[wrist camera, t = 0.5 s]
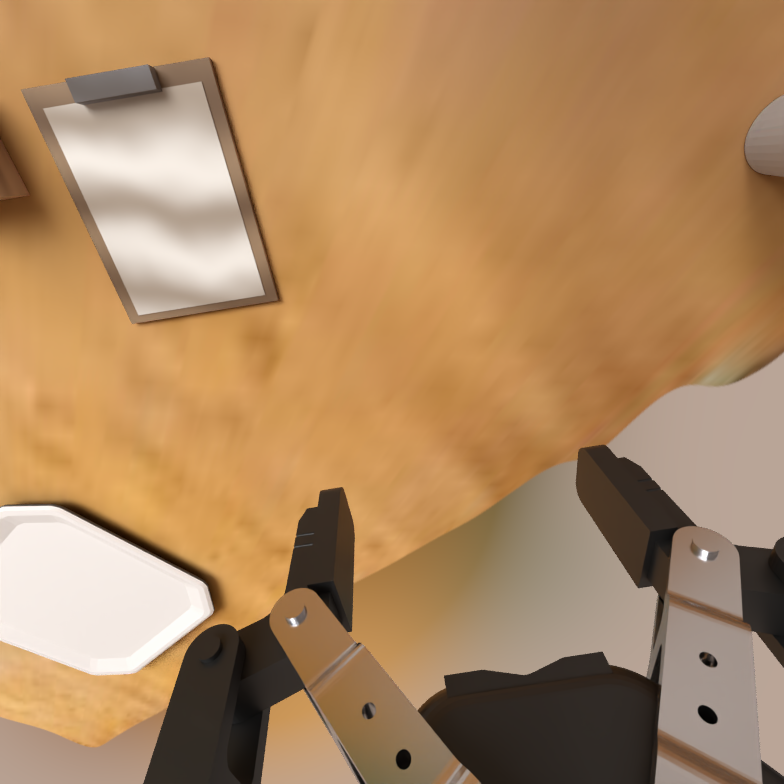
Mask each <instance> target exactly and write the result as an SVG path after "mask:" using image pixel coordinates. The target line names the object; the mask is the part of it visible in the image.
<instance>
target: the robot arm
mask: <svg viewBox="0 0 784 784" xmlns="http://www.w3.org/2000/svg"><path fill="white" fill-rule="evenodd" d="M576 488H577V493H578V496H579V498H580V500H581V502H582V503H583V505H584V507H585V508H586V510H587V511H588V513H589V514H590V516H591V517H592V518H593V520H594V522H595V523H596V525H597V526H598V528H599V529H600V531H601V532H602V534H603V536H604V537H605V538H606V540H607V541H608V543H609V545H610V546H611V547H612V549H613V551H614V552H615V554H616V555H617V557H618V558H619V560H620V561H621V563H622V564H623V566H624V567H625V569H626V570H627V572H628V573H629V575H630V576H631V578H632V580H633V581H634V583H635V584H636V586H637V587H638V588H643V587H649V586H653V587H654V588H655V590H656V591H657V593H658V598H657V603H656V612H655V621H654V629H653V637H652V646H651V654H650V661H649V666H648V672H647V677H644V676H642V675H640V674H638V673H636V672H633V671H630V670H628V669H625V668H621V667H617V666H613V665H609V664H608V662H607V660H606V658H605V656H604V654H603V652H597V653H590V654H584V655H577V656H570V657H564V658H561V659H559V660H557V661H555V662H553V663H551V664H549V665H547V666H545V667H543V668H541V669H539V670H537V671H535V672H533V673H531V674H528V675H518V674H510V673H503V672H495V671H487V670H478V671H472V672H465V673H459V674H452V675H446V676H444V678H445V685H446V688H445V689H443V690H441V691H439V692H438V693H436V694H435V695H433V696H432V697H430V698H429V699H428V700H427V701H426V702H425V703H424V704H423V705H422V706H421V707H420V708H419V709H418V711H417V710H416V708H415V707H414V706H413V705H412V704H411V702H410V701H409V700H408V699H407V698H406V696H405V695H404V694H403V692H402V691H401V690H400V689H399V688H398V687H397V685H396V684H395V683H394V681H393V680H392V679H391V678H390V677H389V675H388V674H387V673H386V672H385V670H384V669H383V668H382V667H381V665H380V664H379V663H378V662H377V661H376V660H375V658H374V657H373V656H372V654H371V653H370V652H369V651H368V650H367V649H366V647H365V646H364V645H363V644H361V643H358V644H357V643H356V642H355V641H354V640H353V639H352V637H351V636H350V635H349V634H348V632H351V631H352V611H353V577H354V542H355V533H354V524H353V519H352V516H351V512H350V509H349V506H348V502H347V499H346V495H345V492H344V489H343V488H342V487H340V488H334V489H328V490H322V491H320V495H319V502H318V507H314V508H308V509H307V510H306V511H305V513H304V514H303V516H302V517H301V519H300V520H299V523H298V528H297V533H296V538H295V544H294V549H293V554H292V559H291V565H290V570H289V575H288V580H287V586H286V590H285V594H284V595H283V596H282V597H281V598H280V599H279V600H278V601H277V602H276V604H275V605H274V607H273V609H272V611H271V613H270V614H269V615H267V616H266V617H265V618H263V619H261V620H259V621H257V622H255V623H253V624H251V625H249V626H247V627H245V628H243V629H241V630H238V631H236V629H235V628H234V627H232V626H231V625H227V624H220V625H216V626H213V627H210V628H208V629H207V630H205V631H204V632H202V633H201V634H200V635H199V636H198V637H197V638H196V639H195V640H194V641H193V642H192V643H191V645H190V646H189V648H188V649H187V651H186V653H185V656H184V659H183V662H182V665H181V668H180V671H179V674H178V678H177V681H176V684H175V687H174V690H173V693H172V696H171V699H170V702H169V706H168V709H167V712H166V715H165V718H164V721H163V724H162V727H161V730H160V734H159V737H158V740H157V743H156V746H155V749H154V752H153V755H152V758H151V762H150V765H149V768H148V771H147V774H146V777H145V780H144V783H143V784H261V777H262V769H263V762H264V754H265V745H266V738H267V730H268V722H269V714H270V707H271V706H272V705H274V704H276V703H278V702H280V701H282V700H284V699H285V698H287V697H289V696H291V695H293V694H295V693H297V692H298V691H300V690H302V689H303V690H304V691H305V693H306V694H307V696H308V698H309V699H310V701H311V703H312V705H313V706H314V708H315V710H316V711H317V713H318V715H319V716H320V718H321V719H322V721H323V723H324V724H325V726H326V728H327V730H328V731H329V733H330V735H331V736H332V738H333V739H334V741H335V743H336V745H337V746H338V748H339V750H340V751H341V753H342V755H343V757H344V759H345V760H346V762H347V764H348V766H349V767H350V769H351V771H352V773H353V774H354V776H355V777H356V779H357V781H358V783H359V784H784V776H782V775H781V774H780V773H778V772H777V771H775V770H774V769H773V768H771V767H770V766H769V765H767V764H766V763H765V762H763V761H762V760H761V756H760V743H759V727H758V714H757V699H756V686H755V671H754V657H753V642H752V631H754V632H756V633H757V634H758V635H759V637H760V638H761V639H762V640H763V642H764V643H765V644H766V645H767V647H768V648H769V650H770V651H771V652H772V653H773V654H774V656H775V657H776V658H777V660H778V661H779V662H780V664H781V665H782V666H783V667H784V537H783V538H780V539H779V540H778V541H777V542H776V544H775V546H774V548H773V549H765V548H756V547H746V546H738V545H733V544H732V543H731V542H730V541H729V540H728V539H727V538H725V537H724V536H722V535H720V534H719V533H717V532H715V531H712V530H709V529H706V528H702V527H697V526H696V525H695V524H694V523H693V522H692V521H691V520H690V518H689V517H688V516H687V515H686V514H685V513H684V512H683V511H682V510H681V509H680V508H679V507H678V506H677V505H676V504H675V502H674V501H673V500H672V499H671V498H670V497H669V496H668V495H667V494H666V493H665V492H664V491H663V490H661V489H660V487H659V485H658V484H657V483H656V482H655V481H653V480H652V479H651V477H650V476H649V475H648V474H647V473H646V472H645V471H644V470H643V468H642V467H641V466H639V465H637V464H636V463H634V462H632V461H630V460H629V459H627V458H625V457H623V458H617V457H616V456H615V455H614V454H613V453H612V451H611V450H610V449H609V448H608V447H607V446H606V445H598V446H592V447H586V448H581V449H580V450H579V452H578V463H577V475H576Z"/></svg>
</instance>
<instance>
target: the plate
mask: <svg viewBox="0 0 784 784" xmlns="http://www.w3.org/2000/svg"><path fill="white" fill-rule="evenodd" d="M213 612H214V605H213V601H212V598H211V594H210V590H209V587H208V584H207V583H206V582H205V581H204V580H203V579H201V578H199V577H197V576H195V575H193V574H192V573H190V572H188V571H186V570H184V569H182V568H180V567H178V566H176V565H174V564H172V563H170V562H169V561H167V560H165V559H163V558H161V557H159V556H157V555H155V554H153V553H151V552H149V551H147V550H146V549H144V548H142V547H140V546H138V545H136V544H134V543H132V542H130V541H128V540H126V539H124V538H123V537H121V536H119V535H117V534H115V533H113V532H111V531H109V530H107V529H105V528H103V527H101V526H100V525H98V524H96V523H94V522H92V521H90V520H88V519H86V518H84V517H82V516H80V515H78V514H77V513H75V512H73V511H71V510H69V509H67V508H65V507H63V506H60V505H56V504H17V505H4V506H2V507H0V641H3V642H5V643H8V644H11V645H14V646H16V647H19V648H22V649H24V650H27V651H30V652H32V653H35V654H38V655H40V656H43V657H46V658H49V659H51V660H54V661H57V662H59V663H62V664H65V665H67V666H70V667H73V668H75V669H78V670H81V671H83V672H86V673H89V674H92V675H115V674H132V673H135V672H138V671H140V670H141V669H142V668H143V667H145V666H146V665H147V664H149V663H150V662H151V661H152V660H154V659H155V658H156V657H158V656H159V655H160V654H162V653H163V652H164V651H165V650H167V649H168V648H169V647H171V646H172V645H173V644H174V643H176V642H177V641H178V640H180V639H181V638H182V637H184V636H185V635H186V634H187V633H189V632H190V631H191V630H193V629H194V628H195V627H196V626H198V625H199V624H200V623H202V622H203V621H204V620H206V619H207V618H208V617H209V616H211V615H212V614H213Z"/></svg>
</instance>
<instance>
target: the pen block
mask: <svg viewBox="0 0 784 784" xmlns="http://www.w3.org/2000/svg"><path fill="white" fill-rule="evenodd" d="M29 195H30V194H29V192H28V190H27V189H26V187H25V185H24V183H23V181H22V179H21V177H20V175H19V173H18V171H17V169H16V167H15V165H14V164H13V162H12V160H11V158H10V156H9V154H8V152H7V150H6V148H5V146H4V144H3V142H2V140H1V138H0V200H5V199H11V198H17V197H23V196H29Z"/></svg>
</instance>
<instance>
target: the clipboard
mask: <svg viewBox="0 0 784 784" xmlns="http://www.w3.org/2000/svg"><path fill="white" fill-rule="evenodd" d="M65 80H66V82H62V83H57V84H51V85H45V86H39V87H33V88H28V89H22V90H21V91H22V93H23V96H24V98H25V100H26V102H27V104H28V106H29V108H30V110H31V112H32V115H33V117H34V119H35V121H36V123H37V125H38V127H39V129H40V131H41V133H42V136H43V138H44V140H45V142H46V144H47V146H48V148H49V150H50V152H51V155H52V157H53V159H54V161H55V163H56V165H57V167H58V169H59V171H60V173H61V176H62V178H63V180H64V182H65V184H66V186H67V188H68V190H69V192H70V195H71V197H72V199H73V201H74V203H75V205H76V207H77V209H78V211H79V213H80V216H81V218H82V220H83V222H84V224H85V226H86V228H87V230H88V232H89V234H90V237H91V239H92V241H93V243H94V245H95V247H96V249H97V251H98V253H99V256H100V258H101V260H102V262H103V264H104V266H105V268H106V270H107V272H108V274H109V277H110V279H111V281H112V283H113V285H114V287H115V289H116V291H117V293H118V296H119V298H120V300H121V302H122V304H123V306H124V308H125V310H126V312H127V314H128V317H129V319H130V321H131V323H132V324H135V323H141V322H147V321H153V320H159V319H166V318H172V317H178V316H184V315H190V314H197V313H203V312H209V311H215V310H221V309H228V308H234V307H240V306H246V305H252V304H259V303H265V302H271V301H277V300H279V297H278V293H277V290H276V286H275V283H274V279H273V276H272V272H271V269H270V265H269V262H268V258H267V255H266V251H265V248H264V244H263V241H262V237H261V233H260V230H259V226H258V223H257V219H256V216H255V212H254V209H253V205H252V202H251V198H250V195H249V191H248V188H247V184H246V181H245V177H244V174H243V170H242V166H241V163H240V159H239V156H238V152H237V149H236V145H235V142H234V138H233V135H232V131H231V128H230V124H229V121H228V117H227V114H226V110H225V106H224V103H223V99H222V96H221V92H220V89H219V85H218V82H217V78H216V75H215V71H214V68H213V64H212V61H211V59H210V58H209V57H207V58H202V59H196V60H190V61H184V62H178V63H173V64H167V65H161V66H155V67H152V66H150V65H143V66H137V67H131V68H125V69H119V70H114V71H108V72H102V73H96V74H90V75H85V76H79V77H73V78H67V79H65Z"/></svg>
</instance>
